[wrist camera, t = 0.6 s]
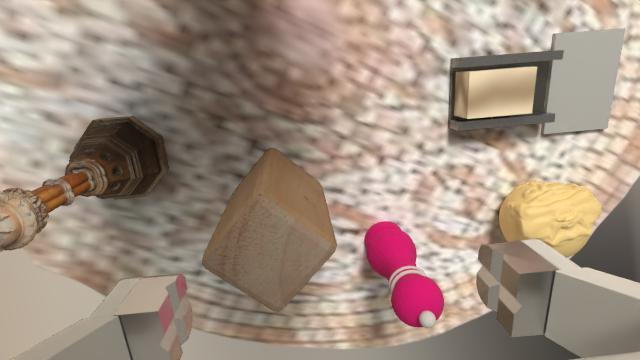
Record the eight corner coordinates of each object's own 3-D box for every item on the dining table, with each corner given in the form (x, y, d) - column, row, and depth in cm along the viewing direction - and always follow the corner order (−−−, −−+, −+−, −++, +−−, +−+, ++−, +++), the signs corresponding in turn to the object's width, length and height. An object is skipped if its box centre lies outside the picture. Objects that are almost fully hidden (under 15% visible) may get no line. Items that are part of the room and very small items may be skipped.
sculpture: (553, 162, 55) (614, 184, 44) (560, 228, 58) (617, 262, 48) (483, 185, 55) (527, 211, 45) (494, 249, 58) (537, 287, 48)
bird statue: (27, 153, 48) (-573, 340, 15) (72, 75, 46) (-525, 89, 12) (136, 218, 52) (-141, 482, 19) (184, 150, 50) (-38, 315, 16)
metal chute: (450, 58, 49) (461, 57, 46) (547, 51, 49) (563, 49, 46) (448, 127, 51) (457, 130, 49) (539, 119, 52) (554, 122, 49)
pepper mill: (359, 257, 57) (392, 351, 38) (364, 216, 55) (402, 295, 36) (401, 259, 58) (456, 352, 39) (408, 219, 56) (469, 296, 37)
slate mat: (553, 34, 49) (556, 33, 48) (621, 28, 49) (625, 28, 48) (541, 133, 53) (543, 134, 52) (603, 127, 53) (607, 128, 53)
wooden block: (324, 184, 53) (342, 249, 34) (283, 232, 55) (279, 319, 36) (271, 143, 50) (258, 189, 31) (230, 195, 52) (195, 267, 33)
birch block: (455, 71, 49) (469, 72, 45) (518, 66, 49) (537, 66, 45) (453, 115, 50) (467, 118, 47) (514, 110, 51) (532, 113, 47)
